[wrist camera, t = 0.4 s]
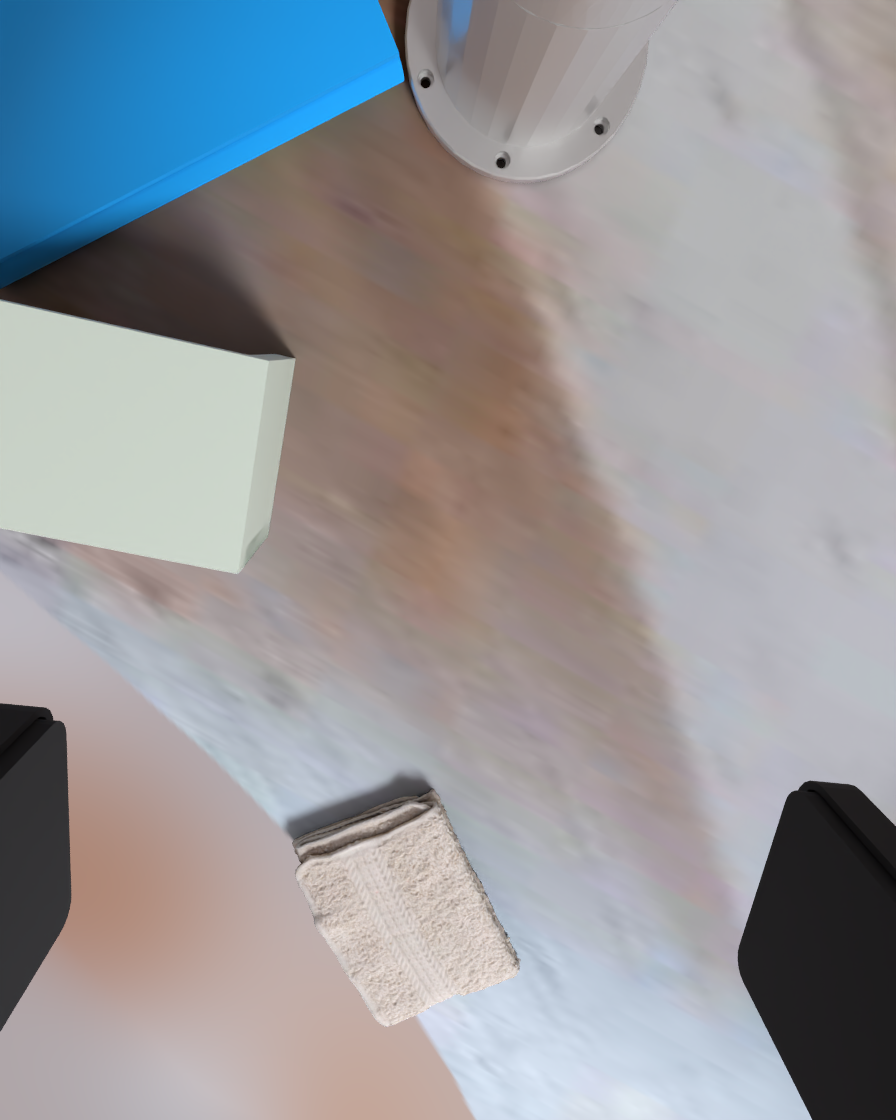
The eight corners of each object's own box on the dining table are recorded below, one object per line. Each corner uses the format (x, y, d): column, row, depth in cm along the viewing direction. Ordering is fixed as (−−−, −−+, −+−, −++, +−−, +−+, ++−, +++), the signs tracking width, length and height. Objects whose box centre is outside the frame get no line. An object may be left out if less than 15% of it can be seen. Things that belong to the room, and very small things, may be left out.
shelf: (-78, 274, 39) (-193, 257, 32) (295, 358, 41) (268, 360, 34) (-80, 467, 42) (-186, 492, 35) (267, 536, 44) (238, 574, 37)
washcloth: (432, 774, 50) (432, 801, 47) (524, 954, 55) (530, 989, 52) (282, 834, 51) (274, 864, 48) (387, 1006, 56) (385, 1043, 53)
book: (-262, -75, 32) (223, -381, 29) (-183, -26, 36) (248, -291, 33) (-29, 293, 36) (406, 57, 34) (18, 299, 41) (409, 89, 38)
